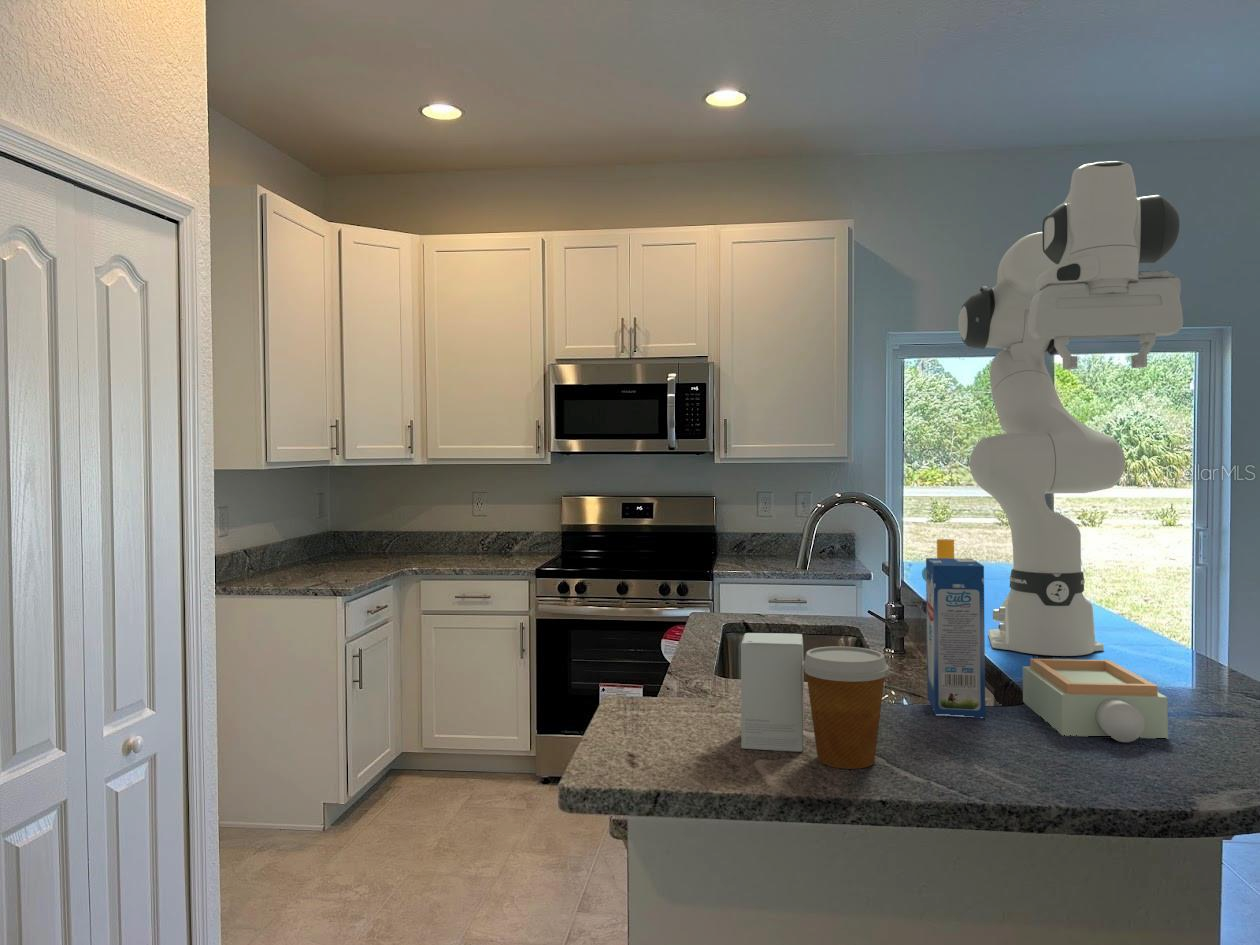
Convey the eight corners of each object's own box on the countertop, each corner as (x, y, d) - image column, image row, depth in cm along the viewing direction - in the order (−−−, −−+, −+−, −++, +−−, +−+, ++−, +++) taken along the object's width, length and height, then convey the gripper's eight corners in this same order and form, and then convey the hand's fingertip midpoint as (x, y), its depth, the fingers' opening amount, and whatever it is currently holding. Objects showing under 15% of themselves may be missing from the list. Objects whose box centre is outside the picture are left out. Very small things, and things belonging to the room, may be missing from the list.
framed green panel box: (1023, 701, 124) (1022, 657, 124) (1114, 704, 123) (1113, 659, 123) (1070, 743, 106) (1070, 691, 106) (1179, 746, 104) (1179, 693, 104)
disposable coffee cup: (786, 761, 100) (785, 654, 100) (830, 741, 107) (829, 642, 107) (864, 780, 94) (862, 666, 94) (904, 758, 101) (903, 652, 101)
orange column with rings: (931, 603, 215) (930, 541, 215) (913, 597, 226) (913, 538, 226) (979, 602, 216) (979, 540, 216) (960, 596, 227) (959, 537, 227)
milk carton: (927, 697, 127) (926, 558, 127) (973, 699, 126) (972, 558, 126) (935, 716, 118) (934, 565, 118) (985, 718, 116) (984, 566, 116)
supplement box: (804, 753, 103) (803, 644, 103) (739, 749, 105) (738, 642, 105) (804, 734, 110) (803, 632, 110) (744, 731, 112) (743, 631, 112)
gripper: (1169, 275, 131) (1171, 369, 131) (1023, 280, 134) (1025, 372, 133) (1191, 265, 125) (1192, 363, 125) (1037, 270, 127) (1038, 367, 127)
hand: (1104, 368), depth 129 cm, fingers open, 8 cm apart
